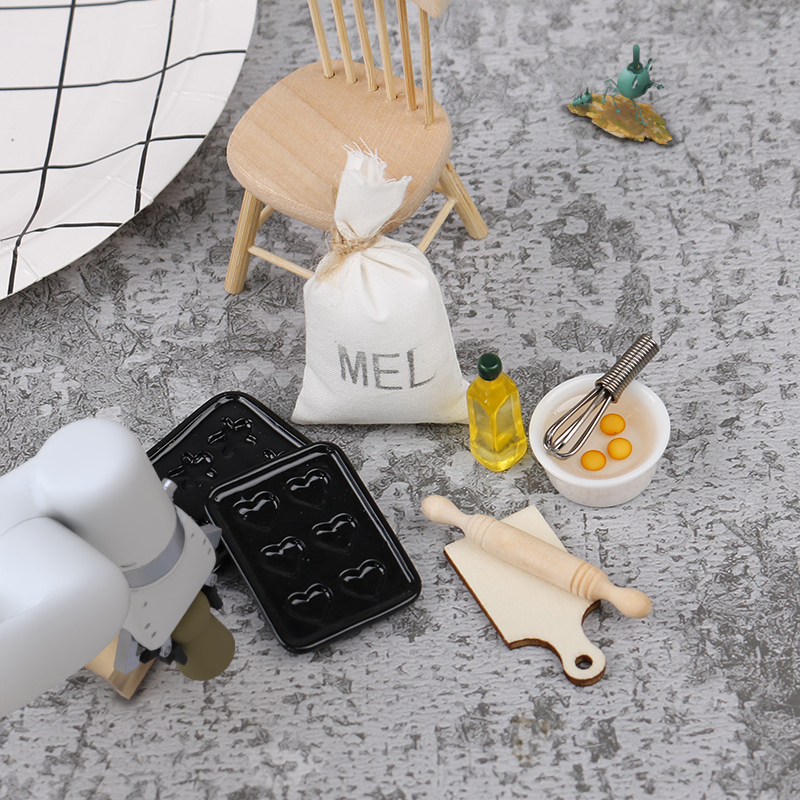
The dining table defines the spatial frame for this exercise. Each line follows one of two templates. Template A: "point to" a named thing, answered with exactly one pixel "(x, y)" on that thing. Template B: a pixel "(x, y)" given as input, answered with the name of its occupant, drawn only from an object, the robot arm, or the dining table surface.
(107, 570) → the robot arm
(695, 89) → the dining table surface
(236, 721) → the dining table surface
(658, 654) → the dining table surface
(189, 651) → the cork
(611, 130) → the teal creature figurine
